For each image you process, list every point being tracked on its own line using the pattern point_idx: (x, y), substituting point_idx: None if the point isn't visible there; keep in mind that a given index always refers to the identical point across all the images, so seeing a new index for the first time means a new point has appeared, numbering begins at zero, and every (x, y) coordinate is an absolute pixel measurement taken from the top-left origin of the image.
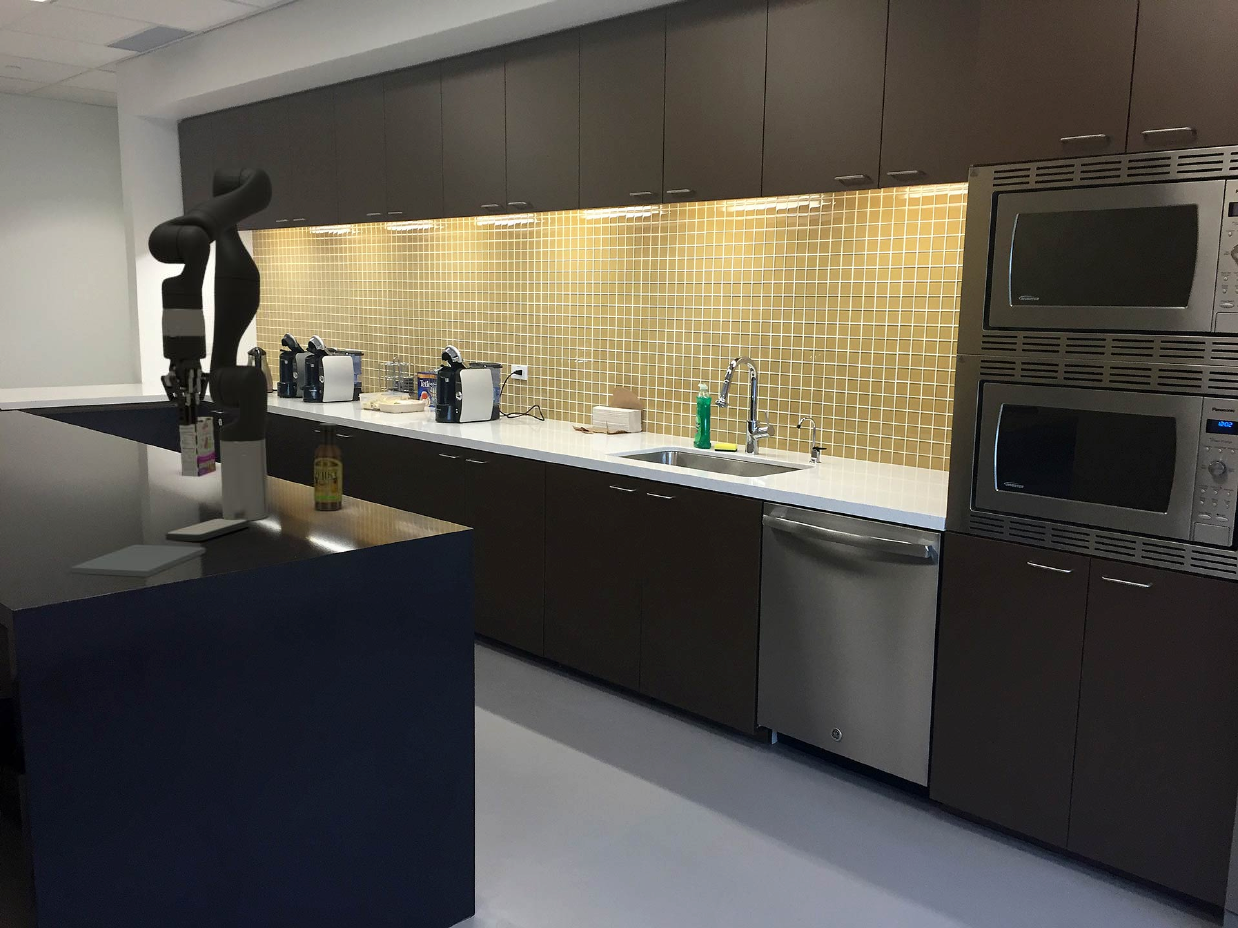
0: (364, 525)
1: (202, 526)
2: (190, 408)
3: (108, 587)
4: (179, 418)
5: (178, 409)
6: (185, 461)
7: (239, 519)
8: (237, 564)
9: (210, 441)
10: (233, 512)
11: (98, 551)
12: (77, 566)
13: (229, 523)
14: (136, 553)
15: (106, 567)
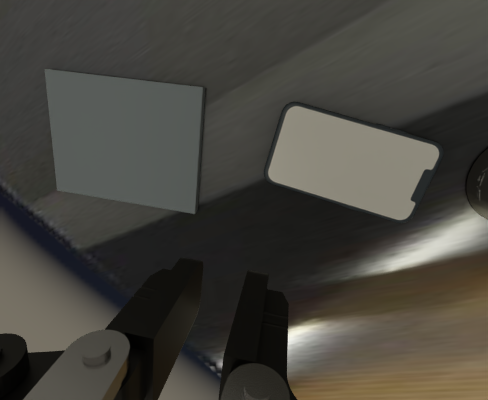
0: (407, 382)
1: (349, 152)
2: (157, 391)
3: (12, 163)
4: (146, 288)
5: (109, 326)
6: None
7: (418, 201)
8: (143, 271)
9: None
10: (480, 174)
11: (186, 23)
12: (52, 76)
13: (372, 197)
14: (142, 125)
15: (58, 125)
